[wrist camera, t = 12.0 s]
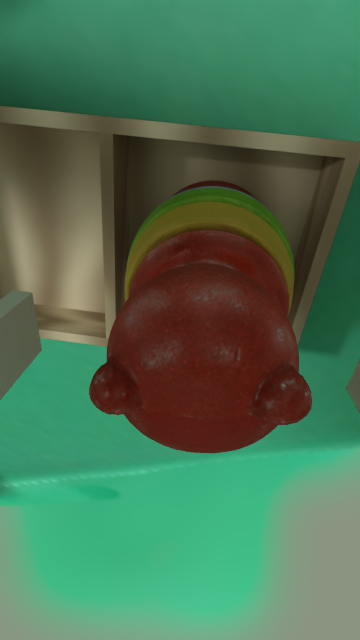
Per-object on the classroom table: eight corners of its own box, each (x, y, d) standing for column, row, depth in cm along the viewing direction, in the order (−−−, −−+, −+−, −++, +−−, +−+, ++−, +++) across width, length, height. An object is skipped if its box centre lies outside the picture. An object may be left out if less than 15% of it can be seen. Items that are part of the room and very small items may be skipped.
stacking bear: (141, 299, 27) (38, 505, 11) (141, 170, 22) (-40, 226, 6) (266, 312, 26) (337, 550, 11) (296, 183, 21) (509, 278, 6)
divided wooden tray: (-21, 300, 29) (-58, 324, 26) (-72, 102, 22) (-136, 92, 18) (279, 340, 28) (288, 371, 24) (337, 143, 20) (366, 142, 16)
